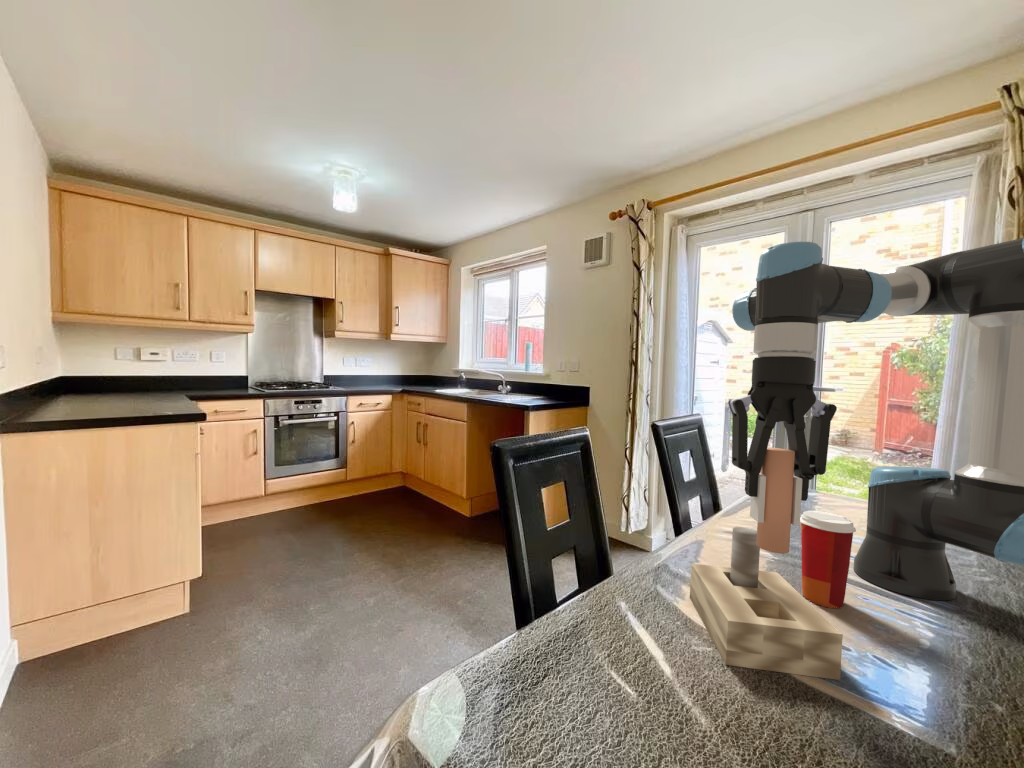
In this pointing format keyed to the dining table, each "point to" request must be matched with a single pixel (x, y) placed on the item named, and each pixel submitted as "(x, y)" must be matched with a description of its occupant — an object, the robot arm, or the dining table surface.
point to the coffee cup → (825, 557)
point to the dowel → (777, 500)
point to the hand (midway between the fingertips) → (774, 520)
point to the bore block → (762, 616)
